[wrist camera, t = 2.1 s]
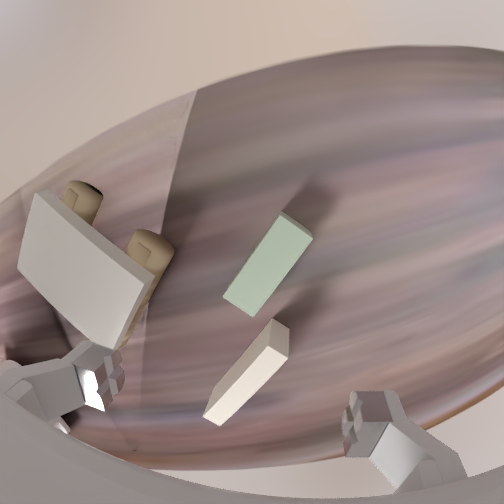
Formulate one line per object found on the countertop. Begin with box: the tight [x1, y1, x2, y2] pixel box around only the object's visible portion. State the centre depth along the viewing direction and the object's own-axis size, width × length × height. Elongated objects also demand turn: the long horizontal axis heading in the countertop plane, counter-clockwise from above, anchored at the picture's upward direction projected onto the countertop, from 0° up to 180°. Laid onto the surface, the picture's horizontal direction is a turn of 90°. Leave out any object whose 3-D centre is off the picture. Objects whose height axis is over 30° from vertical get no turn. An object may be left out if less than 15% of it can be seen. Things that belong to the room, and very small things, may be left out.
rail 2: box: [118, 229, 174, 348], centre depth 26 cm, size 12×4×4 cm, turn 146°
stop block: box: [203, 318, 289, 426], centre depth 26 cm, size 11×2×5 cm, turn 146°
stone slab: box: [17, 190, 155, 350], centre depth 23 cm, size 9×14×2 cm, turn 56°
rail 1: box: [62, 181, 103, 226], centre depth 26 cm, size 12×4×4 cm, turn 146°
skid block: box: [223, 211, 313, 317], centre depth 24 cm, size 8×3×4 cm, turn 146°
